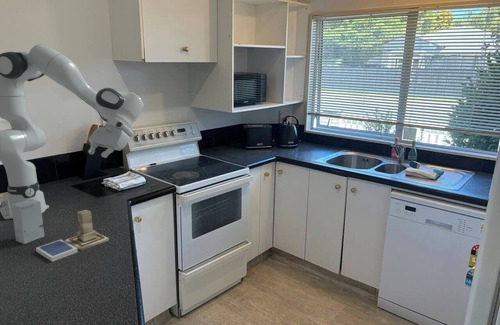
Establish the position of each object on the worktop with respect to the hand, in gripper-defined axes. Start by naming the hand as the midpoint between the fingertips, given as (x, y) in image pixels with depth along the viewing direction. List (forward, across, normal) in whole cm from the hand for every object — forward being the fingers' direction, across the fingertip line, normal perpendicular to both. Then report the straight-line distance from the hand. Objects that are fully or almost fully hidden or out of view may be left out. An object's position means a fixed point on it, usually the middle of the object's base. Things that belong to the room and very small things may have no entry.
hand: (96, 155), depth 146 cm
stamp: (+29, +5, +15) cm, 33 cm away
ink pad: (+37, +5, +7) cm, 38 cm away
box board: (+29, +5, +15) cm, 33 cm away
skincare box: (+38, -14, +6) cm, 41 cm away
